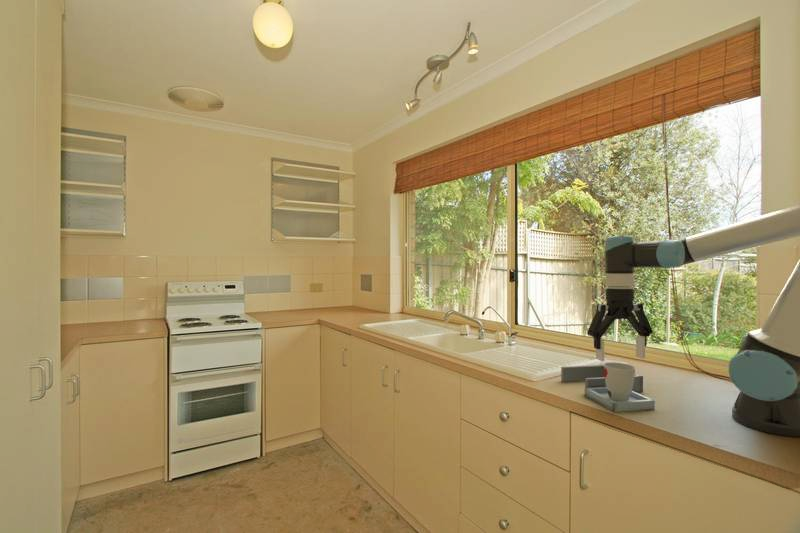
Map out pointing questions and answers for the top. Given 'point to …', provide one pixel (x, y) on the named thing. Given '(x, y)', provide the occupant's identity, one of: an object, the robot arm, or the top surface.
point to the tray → (632, 404)
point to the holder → (594, 376)
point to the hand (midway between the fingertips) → (620, 358)
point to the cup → (619, 380)
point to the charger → (611, 361)
